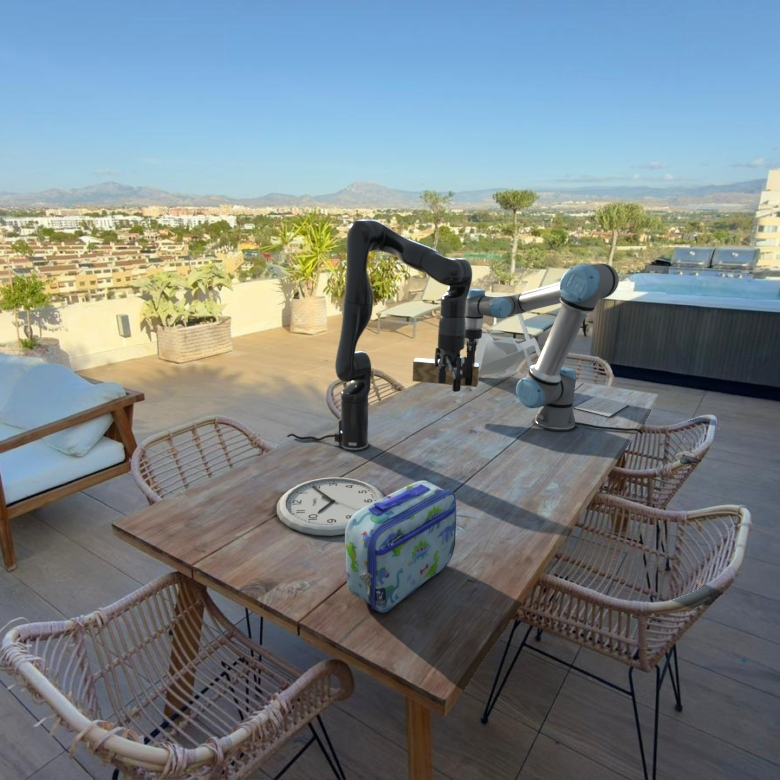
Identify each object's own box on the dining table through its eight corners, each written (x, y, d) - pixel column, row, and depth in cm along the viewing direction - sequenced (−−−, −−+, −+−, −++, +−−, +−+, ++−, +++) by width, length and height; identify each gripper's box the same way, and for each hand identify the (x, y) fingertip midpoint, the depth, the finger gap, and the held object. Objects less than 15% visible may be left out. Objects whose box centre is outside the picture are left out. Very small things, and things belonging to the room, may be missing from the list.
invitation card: (608, 416, 214) (573, 407, 224) (608, 416, 214) (573, 408, 224) (628, 404, 229) (594, 396, 238) (628, 405, 229) (594, 397, 238)
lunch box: (374, 626, 100) (375, 530, 93) (338, 598, 107) (337, 508, 101) (459, 568, 117) (465, 484, 111) (424, 547, 124) (427, 467, 118)
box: (478, 383, 220) (479, 363, 218) (476, 387, 215) (478, 366, 212) (415, 377, 226) (415, 357, 224) (412, 381, 221) (413, 361, 218)
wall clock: (392, 527, 129) (268, 531, 127) (391, 533, 130) (269, 537, 127) (383, 473, 158) (282, 475, 155) (383, 478, 158) (282, 480, 156)
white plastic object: (486, 418, 267) (465, 395, 242) (467, 346, 289) (447, 318, 264) (556, 394, 255) (543, 367, 230) (531, 321, 277) (516, 289, 252)
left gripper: (428, 328, 151) (426, 381, 156) (452, 337, 139) (449, 395, 144) (450, 326, 154) (448, 379, 159) (476, 335, 142) (473, 392, 147)
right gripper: (465, 323, 221) (462, 375, 228) (460, 331, 203) (457, 388, 210) (483, 324, 219) (479, 377, 226) (480, 333, 201) (476, 390, 208)
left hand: (448, 387), depth 151 cm, fingers open, 8 cm apart
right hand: (469, 382), depth 218 cm, fingers closed on box, 6 cm apart
